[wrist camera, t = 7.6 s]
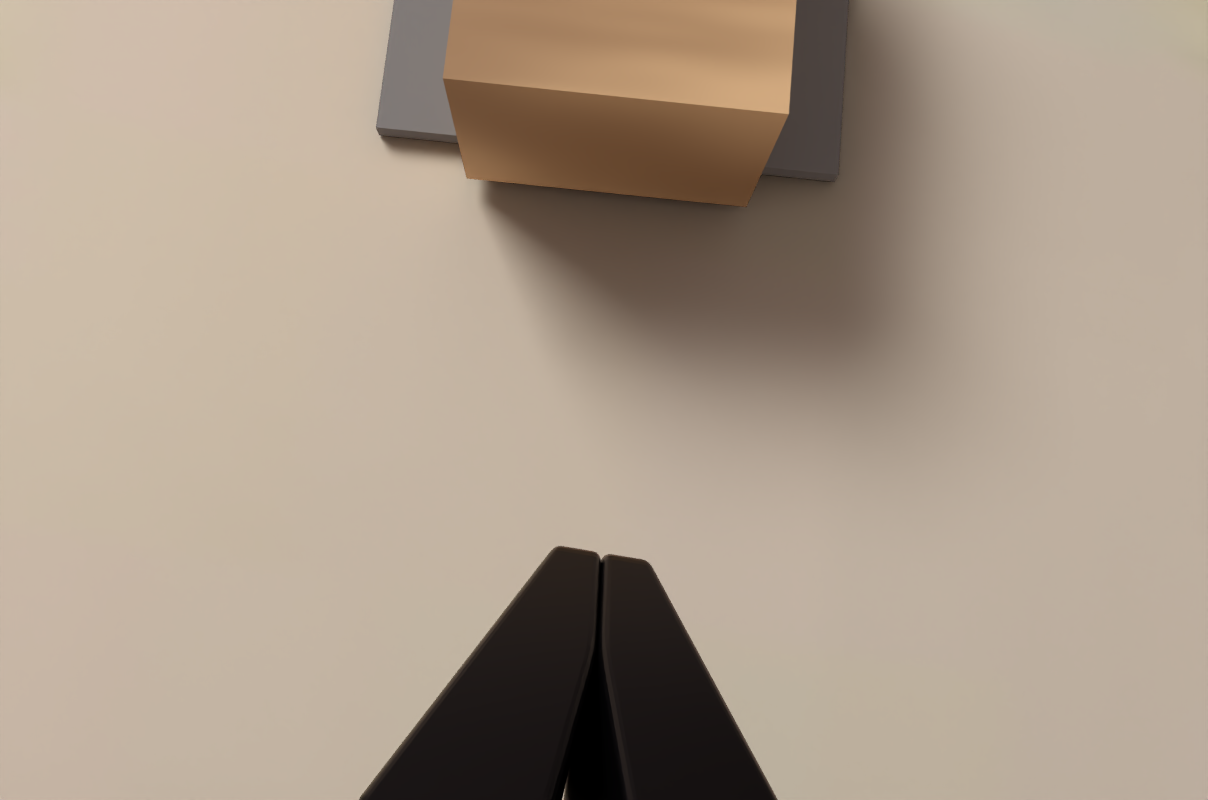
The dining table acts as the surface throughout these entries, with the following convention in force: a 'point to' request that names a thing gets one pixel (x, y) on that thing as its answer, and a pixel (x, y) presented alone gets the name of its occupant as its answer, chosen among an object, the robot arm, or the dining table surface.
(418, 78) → the mat
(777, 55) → the wooden block
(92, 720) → the dining table surface
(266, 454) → the dining table surface
